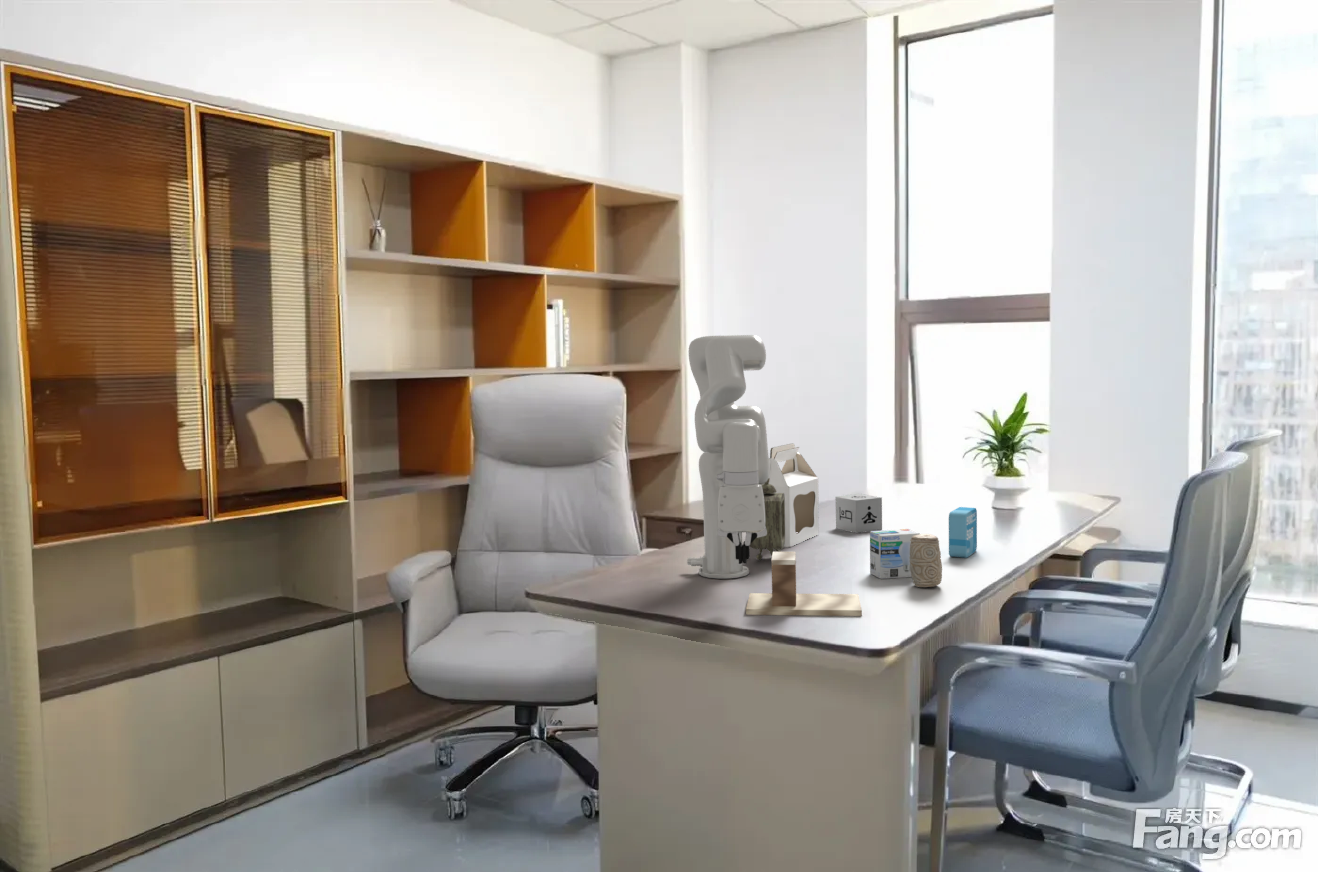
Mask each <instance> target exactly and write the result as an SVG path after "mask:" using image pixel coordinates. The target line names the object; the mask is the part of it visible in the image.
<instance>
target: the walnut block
mask: <svg viewBox="0 0 1318 872" xmlns="http://www.w3.org/2000/svg"><path fill="white" fill-rule="evenodd" d="M796 553H797V552H796V551H781V552H776V551H773V553H772V555H771V559H770V560H771V593H772V606H795V607H796V594H797V565H796V563H797V560H796V558H797V554H796Z"/></svg>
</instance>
